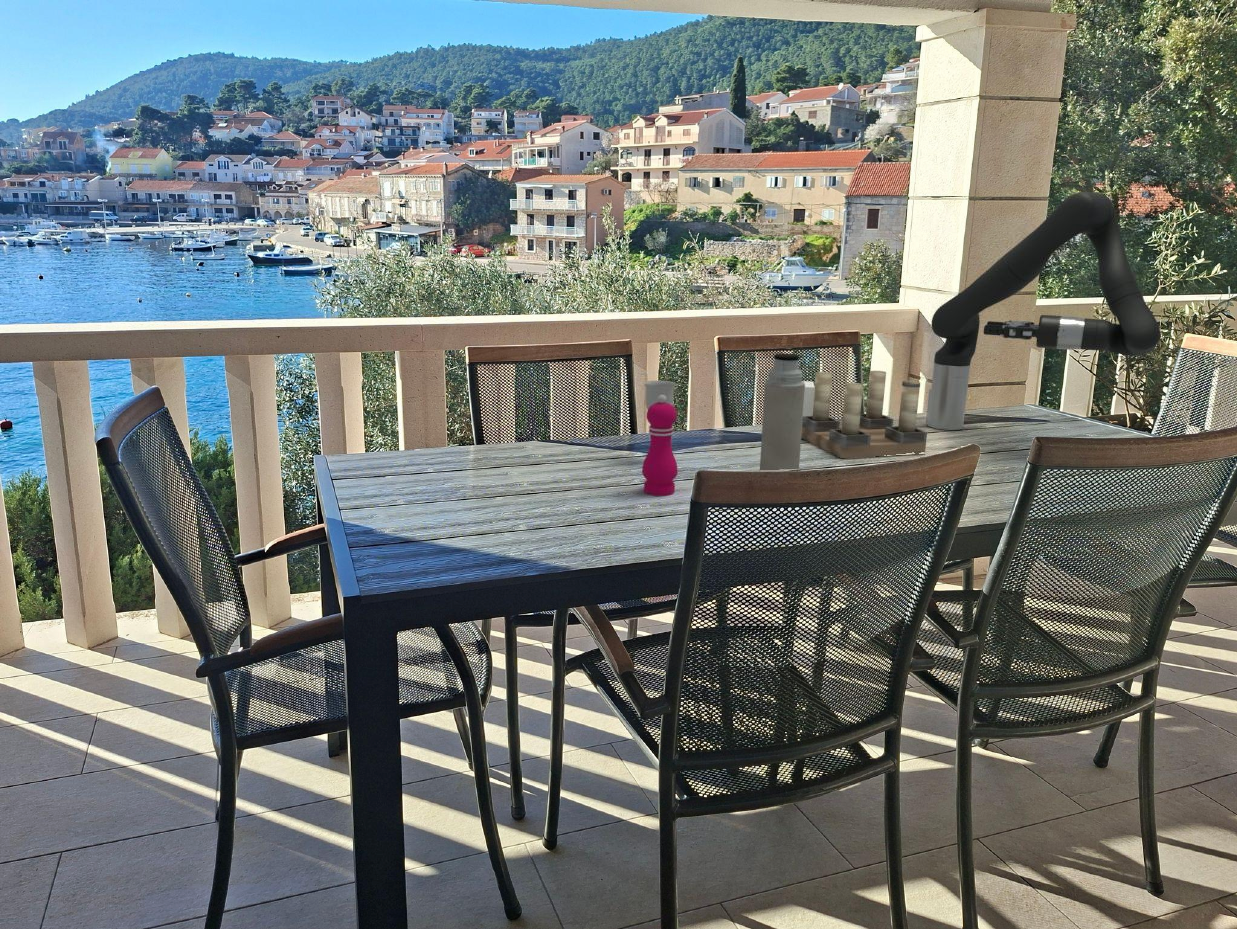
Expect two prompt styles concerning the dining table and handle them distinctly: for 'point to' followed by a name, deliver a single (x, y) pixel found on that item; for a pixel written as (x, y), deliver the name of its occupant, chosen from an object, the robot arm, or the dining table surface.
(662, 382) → the chalice
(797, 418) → the thermos bottle
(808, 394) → the base with upright slab
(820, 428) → the stool seat
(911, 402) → the loose leg
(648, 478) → the pepper mill
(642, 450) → the dining table surface
